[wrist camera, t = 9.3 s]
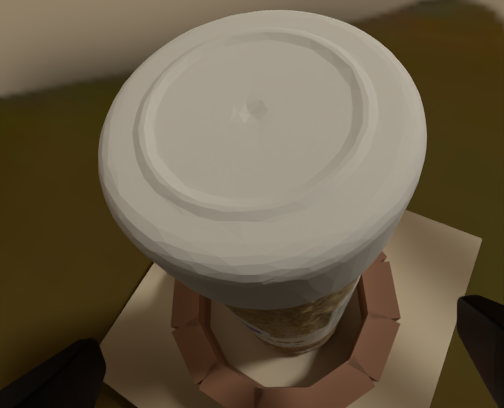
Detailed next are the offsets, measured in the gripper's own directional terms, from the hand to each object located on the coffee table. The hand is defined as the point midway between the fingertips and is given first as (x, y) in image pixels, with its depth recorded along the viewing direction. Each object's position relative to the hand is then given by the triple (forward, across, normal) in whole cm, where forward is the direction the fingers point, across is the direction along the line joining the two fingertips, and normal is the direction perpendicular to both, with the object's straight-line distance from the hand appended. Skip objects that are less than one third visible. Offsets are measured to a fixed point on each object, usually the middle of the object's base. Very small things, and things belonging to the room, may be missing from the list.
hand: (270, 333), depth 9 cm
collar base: (+8, 0, +5) cm, 9 cm away
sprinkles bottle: (+7, 0, +4) cm, 8 cm away
